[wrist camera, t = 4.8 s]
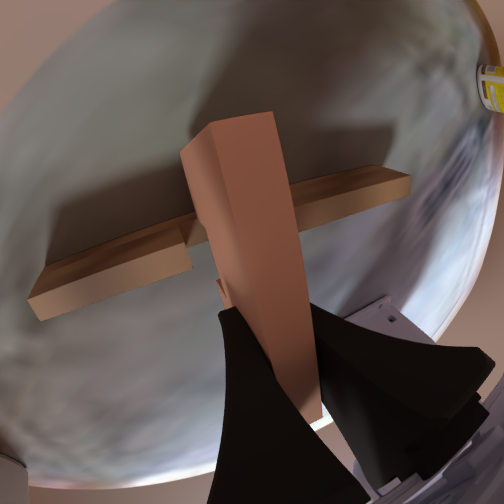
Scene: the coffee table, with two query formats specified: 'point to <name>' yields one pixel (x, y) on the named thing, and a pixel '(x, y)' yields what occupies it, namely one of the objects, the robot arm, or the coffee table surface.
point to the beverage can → (13, 482)
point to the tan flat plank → (257, 245)
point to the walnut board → (197, 241)
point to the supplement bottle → (491, 87)
